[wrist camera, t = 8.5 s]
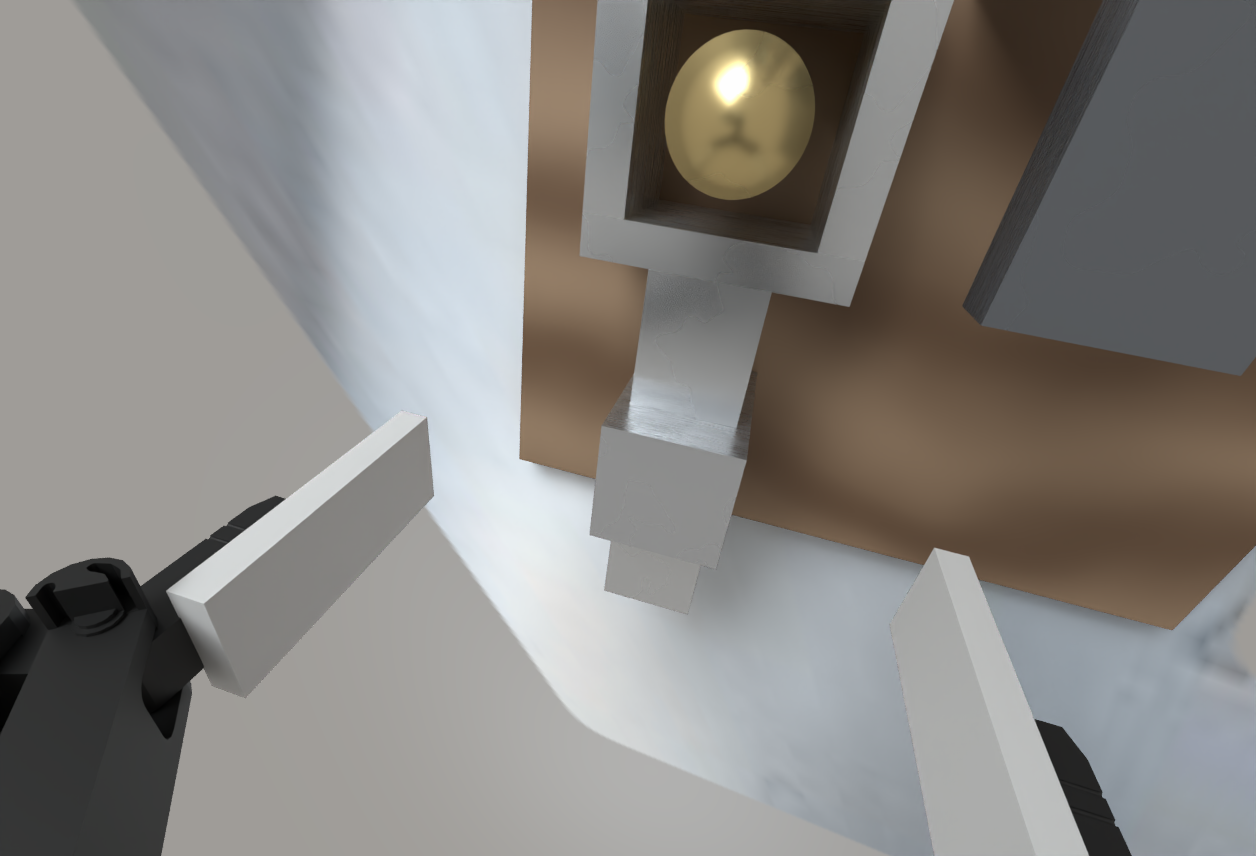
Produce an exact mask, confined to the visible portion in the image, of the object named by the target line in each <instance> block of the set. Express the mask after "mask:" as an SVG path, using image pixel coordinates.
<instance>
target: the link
mask: <svg viewBox="0 0 1256 856" xmlns="http://www.w3.org/2000/svg"><path fill="white" fill-rule="evenodd" d="M953 2H954V0H598V2H597V16H596V30H595V45H594V59H593V73H592V87H591V101H590V115H589V129H588V143H587V157H586V171H585V185H584V199H583V213H582V227H581V241H580V255H579V256H581V257H587V258H592V259H597V260H603V261H608V262H613V263H619V264H624V265H629V266H635V267H640V268H645V269H648V277H647V284H646V291H645V298H644V306H643V313H642V320H641V327H640V335H639V342H638V349H637V356H636V364H635V371H634V374H633V376H632V377H631V379H630V381H629V382H628V384H627V386H626V387H625V389H624V390H623V392H622V394H621V395H620V397H619V398H618V400H617V402H616V403H615V405H614V406H613V408H612V410H611V411H610V413H609V414H608V416H607V418H606V419H605V421H604V423H603V424H602V426H601V435H600V444H599V454H598V463H597V472H596V481H595V490H594V499H593V508H592V517H591V527H590V535H592V536H595V537H599V538H603V539H606V540H610V541H611V545H610V552H609V559H608V567H607V574H606V581H605V588H604V590H605V591H608V592H612V593H615V594H618V595H622V596H625V597H629V598H632V599H636V600H639V601H643V602H646V603H650V604H653V605H657V606H660V607H663V608H667V609H670V610H674V611H677V612H681V613H684V614H688V612H689V608H690V604H691V601H692V597H693V593H694V589H695V585H696V581H697V578H698V574H699V570H700V566H705V567H709V568H712V569H716V567H717V564H718V560H719V557H720V553H721V550H722V546H723V543H724V539H725V536H726V532H727V528H728V525H729V521H730V518H731V514H732V511H733V507H734V504H735V500H736V497H737V493H738V490H739V486H740V482H741V479H742V475H743V472H744V468H745V465H746V461H747V454H748V446H749V438H750V429H751V421H752V413H753V405H754V396H755V388H756V380H757V372H754V371H751V370H752V367H753V363H754V359H755V355H756V351H757V347H758V344H759V340H760V336H761V332H762V328H763V324H764V321H765V317H766V313H767V309H768V305H769V301H770V297H771V294H772V292H773V293H778V294H783V295H789V296H794V297H799V298H805V299H810V300H815V301H821V302H826V303H831V304H837V305H842V306H847V307H850V304H851V301H852V298H853V295H854V292H855V289H856V286H857V283H858V281H859V278H860V275H861V272H862V269H863V266H864V263H865V260H866V257H867V254H868V251H869V248H870V245H871V242H872V239H873V237H874V234H875V231H876V228H877V225H878V222H879V219H880V216H881V213H882V210H883V207H884V204H885V201H886V198H887V195H888V193H889V190H890V187H891V184H892V181H893V178H894V175H895V172H896V169H897V166H898V163H899V160H900V157H901V154H902V151H903V149H904V146H905V143H906V140H907V137H908V134H909V131H910V128H911V125H912V122H913V119H914V116H915V113H916V110H917V107H918V104H919V102H920V99H921V96H922V93H923V90H924V87H925V84H926V81H927V78H928V75H929V72H930V69H931V66H932V63H933V60H934V58H935V55H936V52H937V49H938V46H939V43H940V40H941V37H942V34H943V31H944V28H945V25H946V22H947V19H948V16H949V14H950V11H951V8H952V5H953ZM685 14H693V15H702V16H711V17H720V18H729V19H738V20H748V21H757V22H766V23H775V24H784V25H793V26H802V27H811V28H820V29H829V30H839V31H848V32H857V33H864V36H863V39H862V43H861V47H860V50H859V54H858V57H857V61H856V64H855V68H854V72H853V75H852V79H851V82H850V86H849V89H848V93H847V97H846V100H845V104H844V107H843V111H842V114H841V118H840V122H839V125H838V129H837V132H836V136H835V139H834V143H833V147H832V150H831V154H830V157H829V161H828V164H827V168H826V172H825V175H824V179H823V182H822V186H821V189H820V193H819V197H818V200H817V204H816V207H815V211H814V214H813V218H812V222H811V225H808V224H802V223H796V222H790V221H784V220H778V219H772V218H766V217H760V216H754V215H748V214H742V213H736V212H730V211H724V210H718V209H712V208H706V207H700V206H694V205H688V204H682V203H676V202H670V201H664V200H659V196H660V189H661V182H662V175H663V167H664V160H665V153H666V146H667V142H666V135H665V111H666V105H667V100H668V97H669V93H670V90H671V87H672V85H673V83H674V81H675V78H676V74H677V66H678V59H679V52H680V45H681V38H682V30H683V23H684V16H685Z"/></svg>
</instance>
